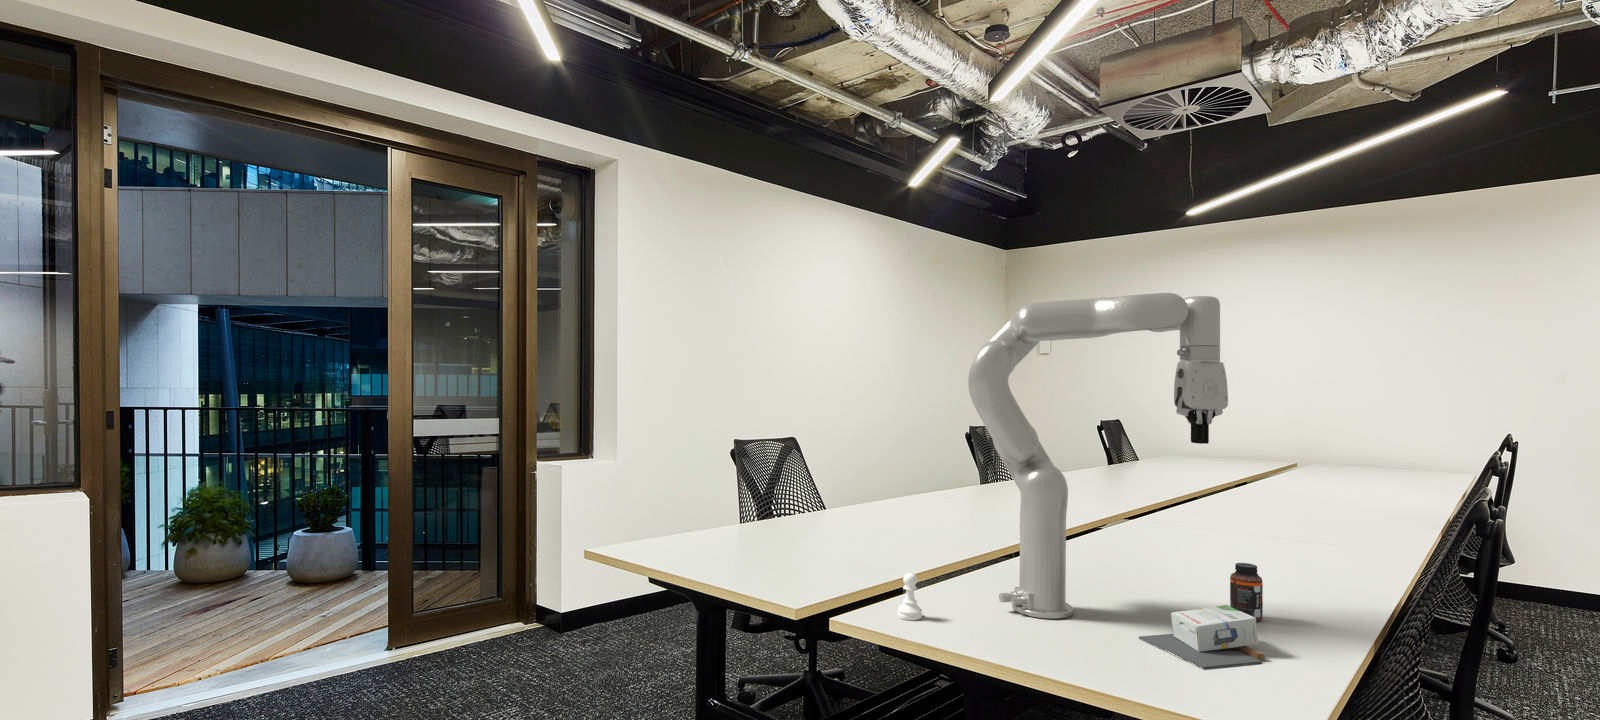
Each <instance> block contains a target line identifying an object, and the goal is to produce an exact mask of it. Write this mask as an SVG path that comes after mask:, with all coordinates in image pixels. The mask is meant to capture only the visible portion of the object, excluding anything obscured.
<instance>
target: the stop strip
mask: <svg viewBox="0 0 1600 720" xmlns="http://www.w3.org/2000/svg"><path fill="white" fill-rule="evenodd" d="M1232 649H1235V650H1237V651H1239V652H1242V653H1244V654H1246V655H1249V656H1251V657H1253V658H1256V659H1258V660H1261V661H1262V662H1264V661H1265V659H1266V655H1265V654H1266V653H1264V652H1262V651H1260V650H1257V649H1254V648H1252V647H1249V646H1242V647H1234V648H1232Z"/></svg>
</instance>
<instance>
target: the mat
mask: <svg viewBox="0 0 1600 720" xmlns="http://www.w3.org/2000/svg"><path fill="white" fill-rule="evenodd" d="M1138 639H1139V640H1141V639H1142V640H1141V641H1143V642H1145V641H1146V643H1147V642H1148V644H1149V643H1150V644H1149V645H1151V644H1152V645H1151V646H1153V645H1155V646H1157V647H1156V648H1158V647H1159V648H1158V649H1160V648H1161V649H1160V650H1162V649H1164V650H1167V651H1169V652H1171V653H1173V654H1175V655H1177V656H1179V657H1181V658H1183V659H1185V660H1187V661H1189V662H1191V663H1193V664H1195V665H1197V666H1199V667H1198V668H1200V667H1201V668H1200V669H1202V668H1203V669H1202V670H1207V669H1206V668H1211V669H1218V668H1219V667H1221V668H1228V667H1229V668H1231V667H1240V666H1248V665H1260V664H1262V663H1263V661H1261V660H1258V659H1256V658H1253V657H1251V656H1249V655H1246V654H1244V653H1242V652H1239V651H1237V650H1235V649H1232V648H1227V649H1219V650H1211V651H1203V652H1198V651H1197V650H1195V649H1193V648H1192V647H1190V646H1189V645H1187V644H1185V643H1184V642H1182V641H1181V640H1179V639H1177V638H1176V637H1174V636H1173V633H1162V634H1152V635H1143V636H1141V635H1140V636H1138ZM1155 646H1154V647H1155ZM1164 650H1163V651H1164ZM1179 657H1178V658H1179ZM1181 658H1180V659H1181ZM1183 659H1182V660H1183ZM1185 660H1184V661H1185ZM1187 661H1186V662H1187ZM1189 662H1188V663H1189ZM1191 663H1190V664H1191ZM1193 664H1192V665H1193ZM1195 665H1194V666H1195ZM1197 666H1196V667H1197Z"/></svg>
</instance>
